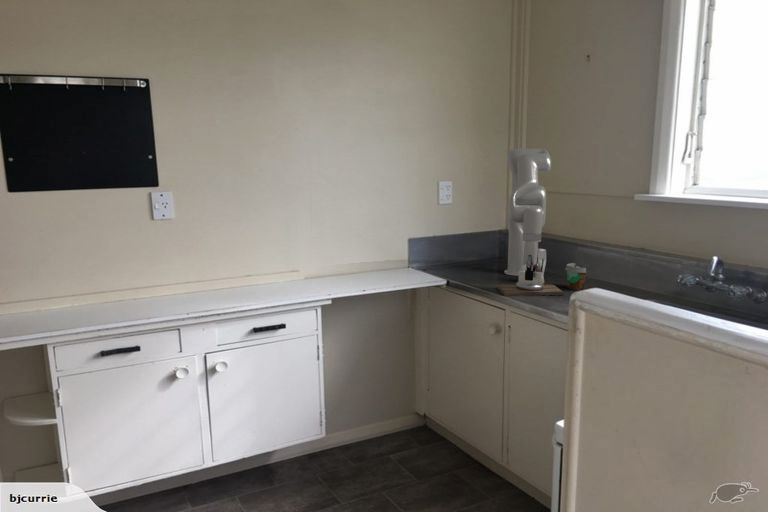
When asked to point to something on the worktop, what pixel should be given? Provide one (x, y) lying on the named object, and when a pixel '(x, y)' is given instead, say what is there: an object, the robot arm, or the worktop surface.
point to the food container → (575, 276)
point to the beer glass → (541, 262)
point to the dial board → (514, 291)
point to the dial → (530, 285)
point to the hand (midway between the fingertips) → (530, 278)
